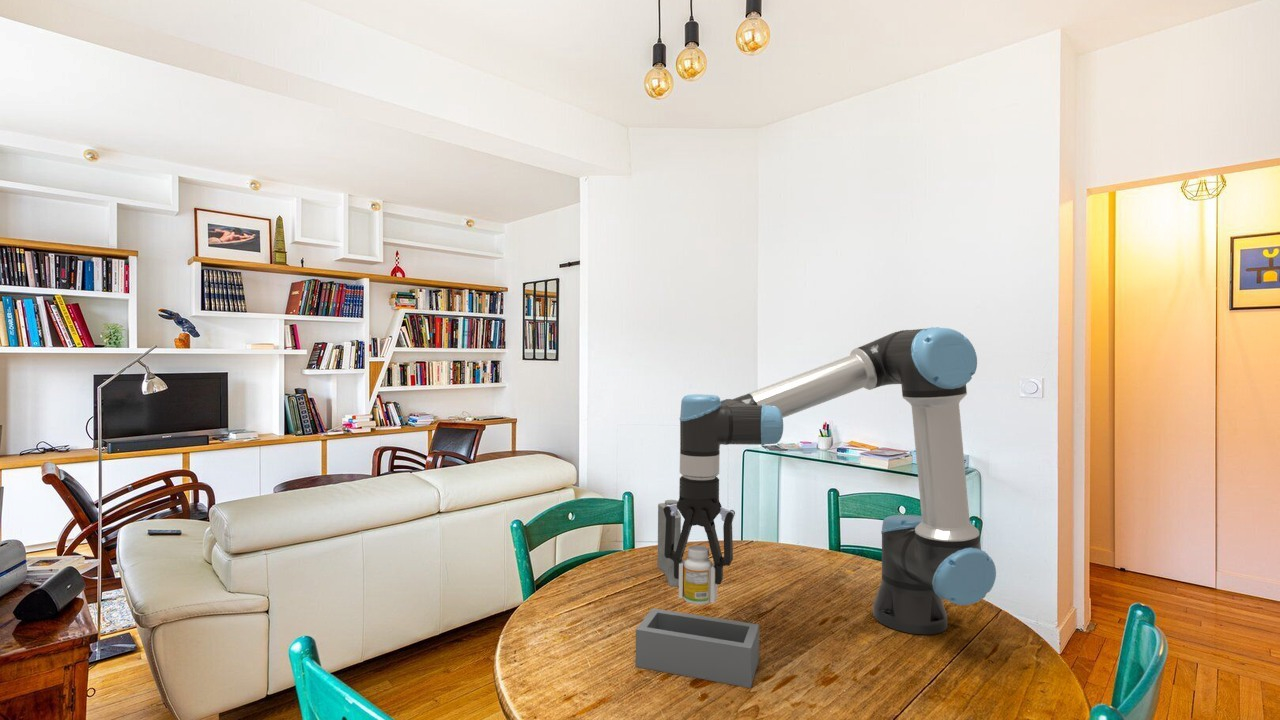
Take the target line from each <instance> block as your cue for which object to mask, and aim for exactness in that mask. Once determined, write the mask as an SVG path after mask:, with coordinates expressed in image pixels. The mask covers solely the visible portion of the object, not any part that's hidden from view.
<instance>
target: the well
mask: <svg viewBox="0 0 1280 720" xmlns="http://www.w3.org/2000/svg"><path fill="white" fill-rule="evenodd" d="M634 660H635V661H634V662H635V668H640V669H647V670H652V671H656V672H662V673H666V674H667V673H668V674H673V675H679V676H683V677H689V678H695V679H699V680H700V679H701V680H704V681H705V680H707V681H710V682H716V683H722V684H725V685H726V684H728V685H733V686H736V687H737V686H738V687H743V688H748V689H752V685H753V681H754V678H755V677H756V673H757V668H758V664H759V662H760V624H758V623H752V622H745V621H739V620H732V619H725V618H720V617H711V616H705V615H698V614H692V613H687V612H686V613H684V612H681V611H680V612H679V611H672V610H665V609H659V608H653V607H652V608H651V609H650V610H649V612H648V613H647V615H646V616H645V617H644V618H643V620H642V621H641V622H640V623H639V625H638V626H637V627H636V628H635V659H634Z"/></svg>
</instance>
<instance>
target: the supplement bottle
mask: <svg viewBox="0 0 1280 720" xmlns="http://www.w3.org/2000/svg"><path fill="white" fill-rule="evenodd" d="M687 556H688V557H687V558H686V559H684V560H685V562H684V597H683V599H684V600H685V602H686V603H689V604H692V605H706V604H709V603H710V581H711V567H712V565H713V562H712V560H711V559H710V558H709V557H710V547H707V546H706V545H705V546H704V545H699V544H698V545H690V546H689V547H688V548H687Z"/></svg>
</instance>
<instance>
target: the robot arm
mask: <svg viewBox="0 0 1280 720" xmlns="http://www.w3.org/2000/svg"><path fill="white" fill-rule="evenodd" d="M977 368H978V357H977V352H976V349H975V347H974V345H973V343H972V342H971V340H969V339H968V338H967V337H966V336H965V335H964V334H963V333H961V332H959V331H958V330H955V329H952V328H947V327H934V326H933V327H932V326H931V327H927V328H918V329H905V330H904V329H903V330H899V331H894V332H892V333H889V334H887V335H884V336H882V337H880V338H877V339H875V340H872V341H870V342H869V343H865V344H863V345H860V346H858V347H855V348H854V349H852V350H851V351H850V355H847V356H844V357H842V358H840V359H836V360H834V361H832V362H828V363H826V364H824V365H820V366H818V367H815V368H813V369H810V370H808V371H805V372H803V373H799V374H797V375H794V376H792V377H788V378H786V379H783V380H780V381H777V382H776V383H772V384H770V385H767V386H764V387H762V388H759V389H756V390H754V391H751V392H749V393H746V394H743V395H740V396H737V397H735V398H726V399H722V400H721V397H719V396H718V395H715V394H697V393H696V394H686V395H684V396H683V397H682V398H681V404H680V414H679V415H680V417H679V424H680V425H679V426H680V427H679V430H680V431H679V434H680V435H679V436H680V437H679V440H680V441H679V443H680V444H679V447H680V448H679V474H681V476H680V477H679V493H678V495H679V497H678V500H677V501H678V502H677V504H673V505H671V504H668V505H667V506H666V507H664V509H663V510H664V514H665V517H666V532H665V553H664V555H665V557H666V558H670V559H672V560H673V562H674V578H675V579H679V586H678V599H684V562H685V560H686V559H683V558H684V553H685V550H686V548H687V543H688V541H689V540H688V539H689V537H690V533H691V530H692V528H693V527H692V526H699V527H703V528H704V531H705V533H706V537H707V541H708V544H709V550H710V552H711V556H712V559H713V563H712V567H711V581H710V602H709V603H711V604H715V603H716V601H717V598H718V585H721V584H722V582H723V580H724V567H725V566H727V567H728V566H730V565H731V564H732V561H733V560H734V551H733V550H734V549H733V548H734V547H733V546H734V545H733V543H734V542H733V541H734V540H733V522H734V521H733V520H734V518H735V516H736V515H735V514H736V512H735V510H734V509H730V510H728V509H726V508H724V507H722V506H723V505H722V504H721V502H720V478H719V477H718V476H719V474H720V453H721V452H720V448H721V447H720V446H721V445H724V446H725V445H726V446H728V445H752V446H753V445H761V446H765V445H776V444H778V443H779V442H780V441H781V440H782V438H783V433H784V418H786V417H790V416H791V415H794V414H797V413H799V412H803V411H806V410H807V409H810V408H812V407H813V408H814V407H815V406H817V405H821V404H824V403H826V402H828V401H832V400H834V399H836V398H839V397H841V396H845V395H847V394H851V393H852V392H856V391H858V390H860V389H863V388H864V389H866V390H868V391H870V390H871V391H872V390H873V389H876V388H879V387H883V386H889V385H890V386H891V385H901V393H902V394H901V395H902V396H901V397H902V398H903V399H904V400H905V401H906V402H908V403H909V404H910V406H911V414H912V415H911V416H912V424H913V425H912V426H913V436H914V446H915V457H916V466H917V467H916V469H917V479H918V481H917V482H918V490H919V501H920V504H919V505H920V513H921V515H914V514H913V515H910V514H909V515H908V514H907V515H906V514H897V515H889V516H887V517H884V519H883V520H882V525H881V581H880V585H879V587H878V590H877V592H876V596H875V598H874V601H873V603H872V605H873V607H872V608H873V609H872V613H873V617H874V619H875V620H876V621H877V622H878V623H880V624H882V625H884V626H885V627H888V628H890V629H893V630H896V631H899V632H904V633H908V634H915V635H925V636H926V635H937V634H940V633H941V634H942V633H943V632H945V631H946V630H947V629H948V615H947V612H946V611H947V610H946V608H945V605H944V602H943V600H945V601H948V602H950V603H952V604H954V605H958V606H969V605H973V604H976V603H978V602H980V601H982V600H983V599H985V598H986V596H987V594H988V593H990V592H991V591H992V589H993V587H994V585H995V582H996V577H997V569H996V565H995V562H994V560H993V559H992V557H991V556H989V554H988V553H987V552H986V551H985V550H982V549H981V548H982V547H981V536H980V535H981V534H980V530H979V529H978V528H977V527H975V526H974V525H973V524H972V523H971V520H970V510H969V500H968V499H969V498H968V489H967V477H966V467H965V455H964V444H963V433H962V421H961V413H960V411H961V410H960V402H961V401H962V400H963V399H964V398H965V397H966V396H967V395H968V392H967V384H968V383H969V382H970V381H971V380H972V379H973V376H974V375H975V374H976V371H977ZM677 510H678V511H679V513H680V515H681V517H682V518H683V519H684V520H683V524H682V525H681V535H680V538H679V542H678V545H677V548H676V552H675V551H674V539H675V515H676V514H677ZM719 514H720V516H721V520H722V521H723V527H722V529H723V554H722V550H721V546H720V541H719V538H718V534H717V529H716V524H715V519H716V518H717V517H718V515H719Z"/></svg>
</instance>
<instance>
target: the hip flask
mask: <svg viewBox="0 0 1280 720" xmlns="http://www.w3.org/2000/svg"><path fill="white" fill-rule="evenodd" d="M677 502H678V500H676V499H667V500H664V502H662V503H661V502H660V503H658V504H657V568H658V570H660V571H661V572H662V573H663V575H664V574H665V575H664V576H665V578H666V580H667V585H668V586H669V587H675V588H676V587H679V579H675V578H674V562H673V560H672V559H670V558H666V557H665V555H664V553H665V532H666V517H665V514H664V510H663V509H664V507H666V506H667V505H668V504H671V505H673V504H677ZM681 521H682V515H681V513H680V512H679V510H677V514H676V515H675V539H674V551H675V552H676V548H677V545H678V542H679V538H680V535H681V531H682V522H681Z"/></svg>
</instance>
